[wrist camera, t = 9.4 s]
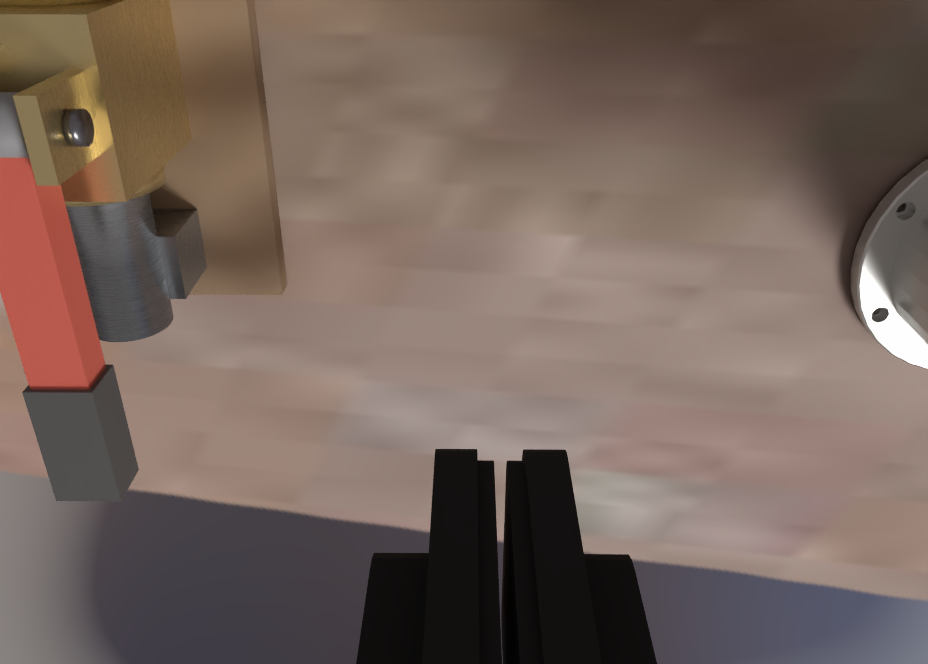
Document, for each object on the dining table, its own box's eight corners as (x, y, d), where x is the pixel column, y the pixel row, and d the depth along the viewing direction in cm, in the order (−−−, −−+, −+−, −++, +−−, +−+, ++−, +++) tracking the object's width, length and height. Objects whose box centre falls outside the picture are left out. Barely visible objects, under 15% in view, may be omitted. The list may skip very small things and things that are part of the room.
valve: (-22, -232, 30) (-269, -284, 20) (131, -231, 30) (-41, -284, 20) (103, 284, 40) (-19, 420, 30) (216, 285, 40) (132, 421, 30)
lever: (-32, 85, 27) (-71, 101, 25) (46, 85, 27) (13, 101, 25) (78, 467, 34) (55, 502, 33) (139, 468, 34) (119, 502, 32)
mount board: (-94, -244, 30) (-114, -248, 29) (225, -244, 30) (216, -248, 29) (52, 282, 41) (41, 293, 40) (287, 284, 41) (282, 294, 40)
